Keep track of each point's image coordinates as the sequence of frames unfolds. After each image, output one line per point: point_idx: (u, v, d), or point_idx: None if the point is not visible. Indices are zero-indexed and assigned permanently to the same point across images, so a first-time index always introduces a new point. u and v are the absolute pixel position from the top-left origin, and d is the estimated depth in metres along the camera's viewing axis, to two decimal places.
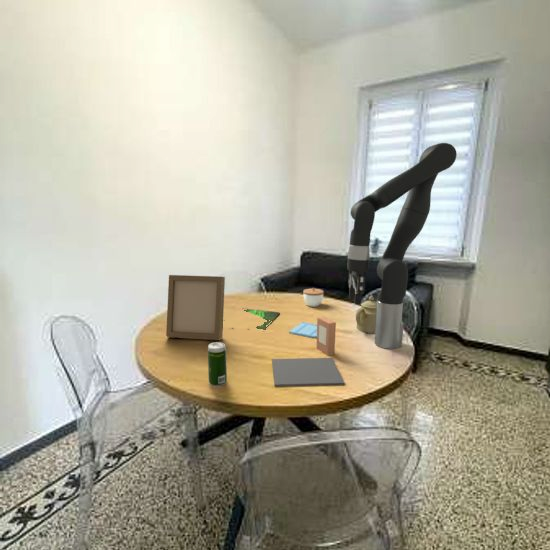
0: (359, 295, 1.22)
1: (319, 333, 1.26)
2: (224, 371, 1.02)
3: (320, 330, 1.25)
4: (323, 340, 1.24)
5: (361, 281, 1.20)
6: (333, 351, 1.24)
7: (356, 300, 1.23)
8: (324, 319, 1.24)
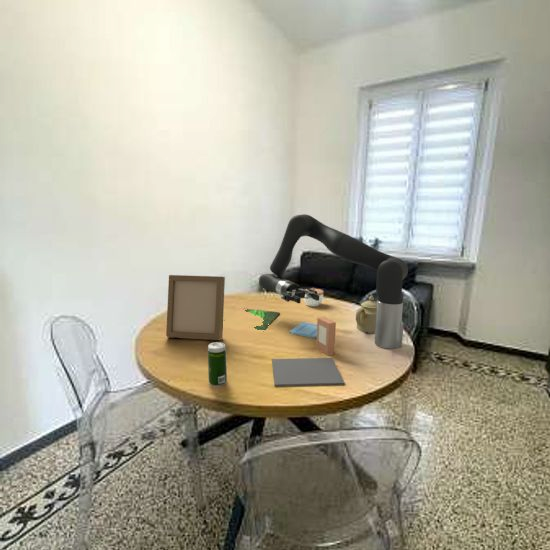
0: (292, 298, 1.33)
1: (319, 333, 1.26)
2: (224, 371, 1.02)
3: (320, 330, 1.25)
4: (323, 340, 1.24)
5: (282, 296, 1.37)
6: (333, 351, 1.24)
7: (296, 301, 1.32)
8: (324, 319, 1.24)
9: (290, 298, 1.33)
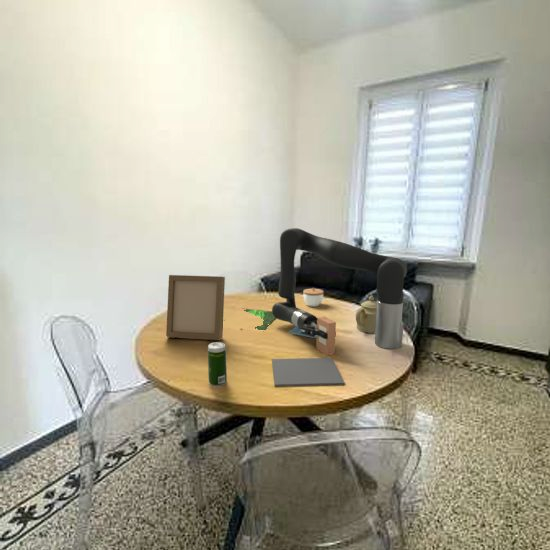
0: (318, 333, 1.24)
1: None
2: (224, 371, 1.02)
3: (320, 329, 1.25)
4: (323, 340, 1.24)
5: (304, 331, 1.27)
6: (333, 351, 1.24)
7: None
8: (325, 319, 1.24)
9: (316, 333, 1.24)
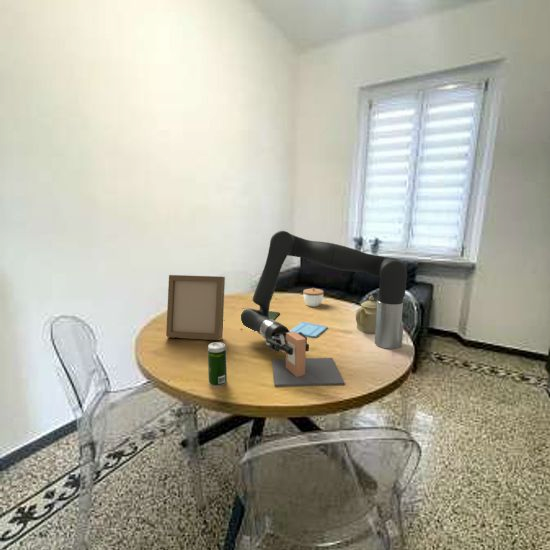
0: (283, 348, 1.07)
1: None
2: (224, 371, 1.02)
3: None
4: (292, 359, 1.08)
5: (268, 344, 1.10)
6: (303, 372, 1.07)
7: None
8: (294, 335, 1.08)
9: (280, 347, 1.07)
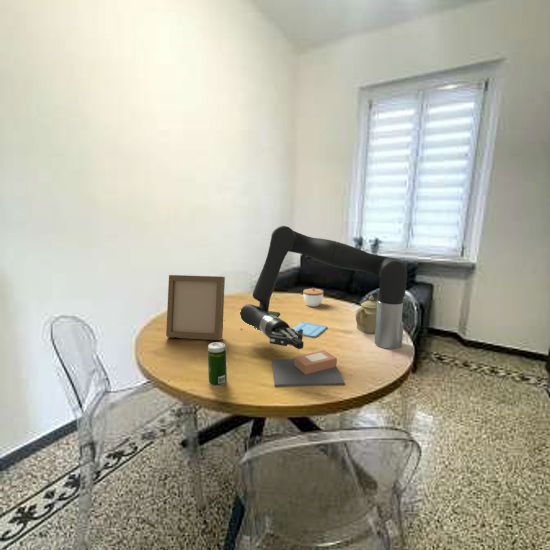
0: (291, 342, 1.06)
1: (313, 354, 1.15)
2: (224, 371, 1.02)
3: (318, 354, 1.15)
4: (313, 359, 1.11)
5: (273, 340, 1.08)
6: (308, 372, 1.08)
7: None
8: None
9: (288, 342, 1.07)
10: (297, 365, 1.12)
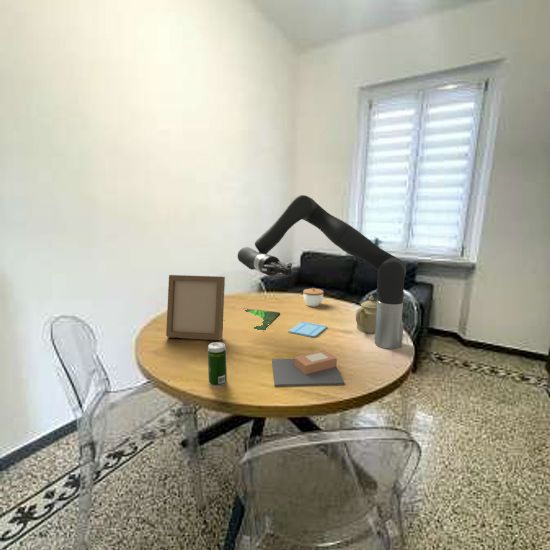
0: (281, 270, 1.20)
1: (313, 354, 1.15)
2: (224, 371, 1.02)
3: (318, 354, 1.15)
4: (313, 359, 1.11)
5: (265, 270, 1.22)
6: (308, 372, 1.08)
7: (284, 273, 1.19)
8: None
9: (278, 270, 1.20)
10: (297, 365, 1.12)
